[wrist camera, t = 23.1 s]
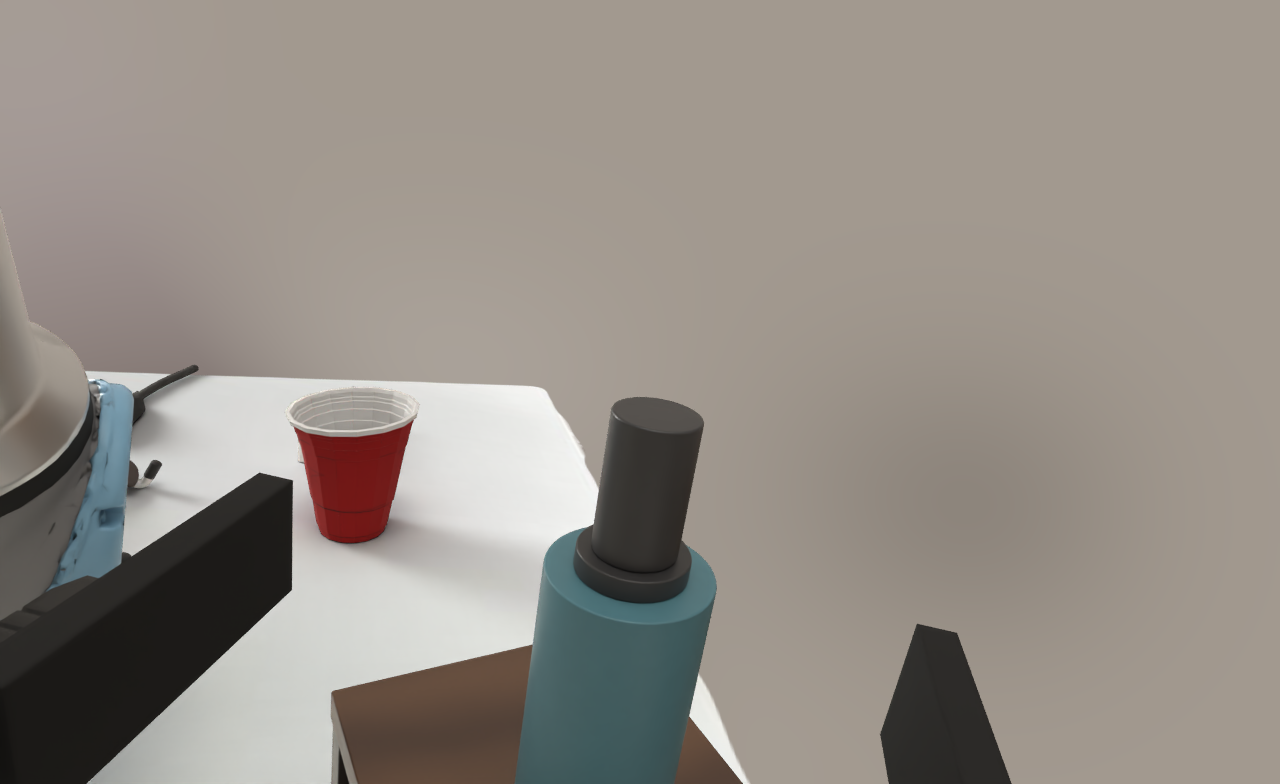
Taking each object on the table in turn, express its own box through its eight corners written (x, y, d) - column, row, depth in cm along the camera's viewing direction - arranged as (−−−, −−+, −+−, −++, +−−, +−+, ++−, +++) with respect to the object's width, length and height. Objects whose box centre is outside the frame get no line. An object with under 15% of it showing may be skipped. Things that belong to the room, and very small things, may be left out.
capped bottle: (477, 817, 31) (525, 394, 25) (591, 747, 35) (654, 372, 29) (578, 936, 27) (662, 470, 21) (691, 840, 31) (788, 431, 25)
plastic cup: (315, 490, 75) (317, 374, 71) (426, 506, 76) (434, 391, 72) (261, 549, 65) (260, 416, 61) (390, 567, 65) (397, 437, 61)
